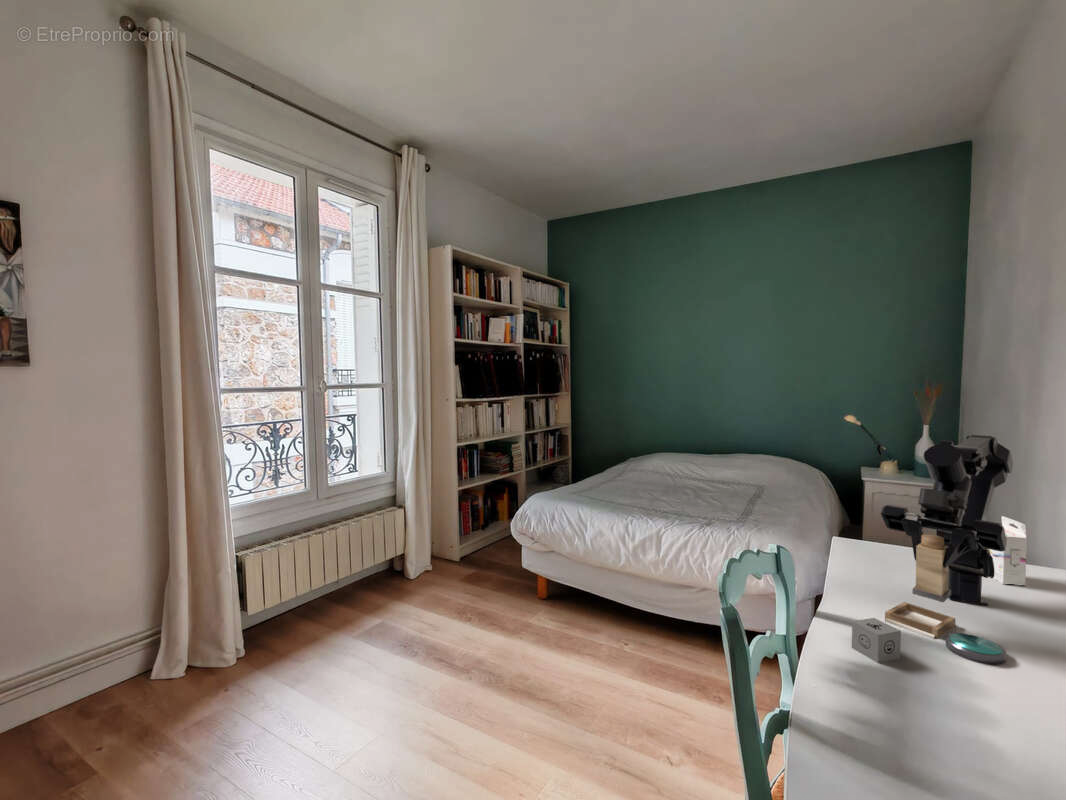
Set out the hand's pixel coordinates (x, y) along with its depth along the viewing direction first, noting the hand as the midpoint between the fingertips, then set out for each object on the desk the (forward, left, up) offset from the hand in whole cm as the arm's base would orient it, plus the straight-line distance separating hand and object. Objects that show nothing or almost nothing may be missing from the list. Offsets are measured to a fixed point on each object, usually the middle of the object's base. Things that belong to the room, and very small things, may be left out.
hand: (929, 563), depth 95 cm
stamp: (-1, +1, -6) cm, 7 cm away
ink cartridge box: (-40, +23, -13) cm, 49 cm away
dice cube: (+14, -10, -14) cm, 22 cm away
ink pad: (+6, +5, -13) cm, 15 cm away
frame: (-3, -1, -13) cm, 14 cm away
